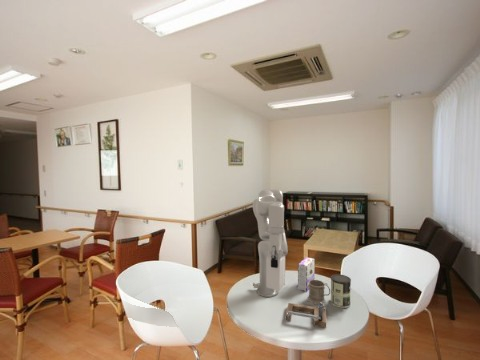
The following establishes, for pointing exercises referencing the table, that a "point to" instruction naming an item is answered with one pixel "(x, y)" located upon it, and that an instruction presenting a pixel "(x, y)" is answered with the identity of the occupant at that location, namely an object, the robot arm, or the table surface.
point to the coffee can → (340, 290)
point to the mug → (317, 291)
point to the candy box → (305, 273)
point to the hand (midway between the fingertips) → (275, 263)
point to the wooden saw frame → (309, 310)
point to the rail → (302, 315)
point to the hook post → (321, 310)
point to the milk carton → (275, 272)
